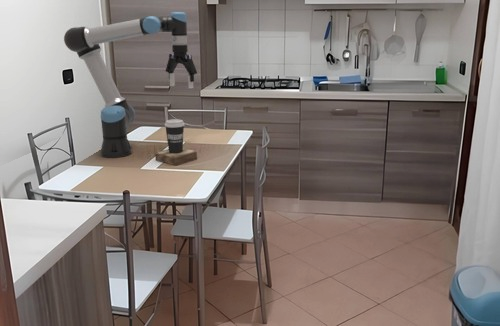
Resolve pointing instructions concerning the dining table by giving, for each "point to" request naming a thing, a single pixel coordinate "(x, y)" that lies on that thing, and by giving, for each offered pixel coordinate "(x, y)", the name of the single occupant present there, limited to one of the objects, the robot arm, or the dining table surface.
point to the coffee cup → (175, 135)
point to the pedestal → (176, 156)
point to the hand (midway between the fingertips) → (181, 87)
